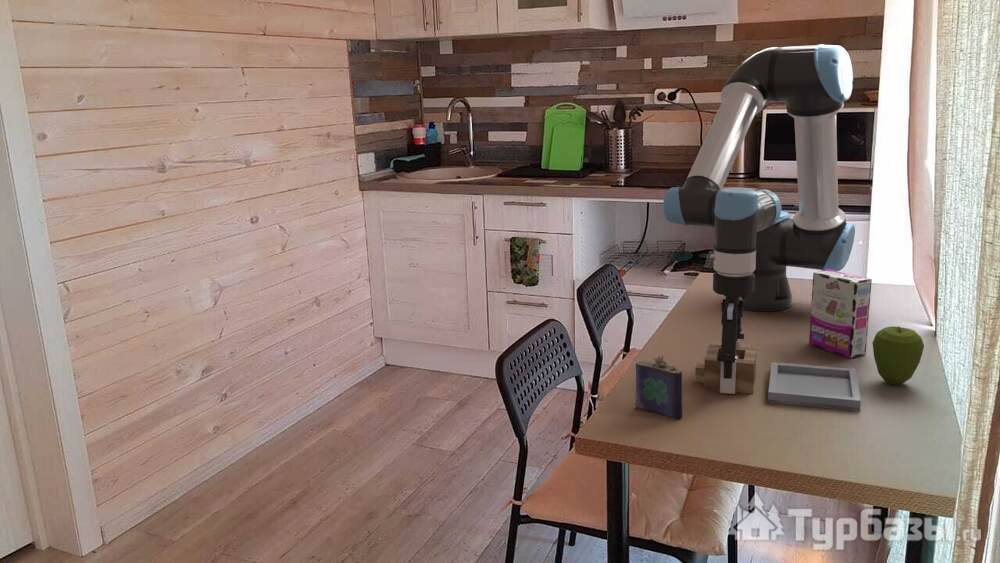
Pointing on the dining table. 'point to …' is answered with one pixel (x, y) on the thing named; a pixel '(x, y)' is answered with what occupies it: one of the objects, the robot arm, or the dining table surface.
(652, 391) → the flask
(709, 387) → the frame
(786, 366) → the tray
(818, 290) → the candy bar box
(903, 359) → the apple
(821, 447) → the dining table surface
